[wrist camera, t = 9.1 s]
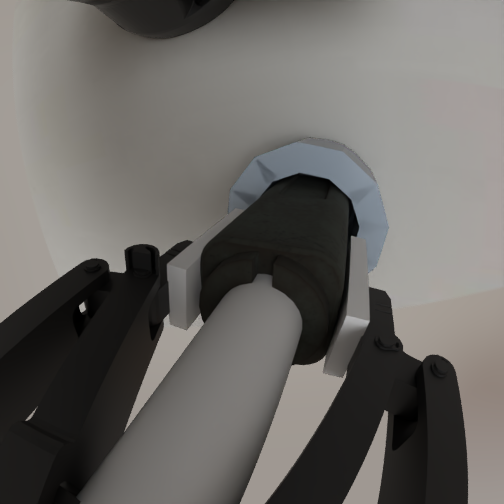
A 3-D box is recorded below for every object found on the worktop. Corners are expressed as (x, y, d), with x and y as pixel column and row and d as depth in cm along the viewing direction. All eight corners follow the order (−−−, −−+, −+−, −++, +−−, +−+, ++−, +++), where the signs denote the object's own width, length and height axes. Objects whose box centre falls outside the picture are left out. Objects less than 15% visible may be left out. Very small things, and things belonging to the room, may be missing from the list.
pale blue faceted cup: (254, 237, 28) (222, 275, 21) (268, 128, 23) (236, 132, 17) (359, 263, 26) (359, 312, 19) (388, 154, 21) (404, 168, 14)
